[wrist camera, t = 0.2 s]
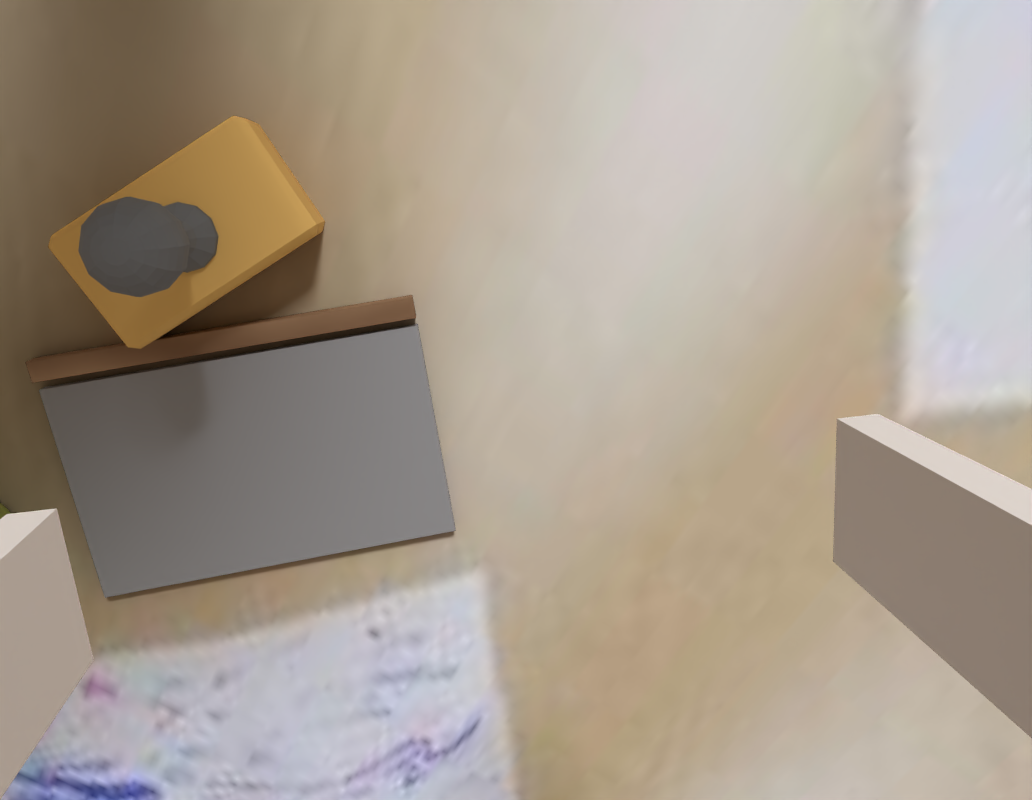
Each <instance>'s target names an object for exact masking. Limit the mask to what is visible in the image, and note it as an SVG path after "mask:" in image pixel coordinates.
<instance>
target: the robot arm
mask: <svg viewBox="0 0 1032 800" xmlns="http://www.w3.org/2000/svg"><path fill="white" fill-rule="evenodd" d="M833 562H834V563H836V564H837V565H838V566H839V567H840V568H841V569H842V570H843V571H845V572H846V573H847V574H848V575H849V576H850V577H851V578H852V579H854V580H855V581H856V582H857V583H858V584H859V585H860V586H861V587H863V588H864V589H865V590H866V591H867V592H868V593H869V594H870V595H871V596H873V597H874V598H875V599H876V600H877V601H878V602H879V603H880V604H882V605H883V606H884V607H885V608H886V609H887V610H888V611H889V612H891V613H892V614H893V615H894V616H895V617H896V618H897V619H898V620H900V621H901V622H902V623H903V624H904V625H905V626H906V627H907V628H909V629H910V630H911V631H912V632H913V633H914V634H915V635H916V636H918V637H919V638H920V639H921V640H922V641H923V642H924V643H925V644H927V645H928V646H929V647H930V648H931V649H932V650H933V651H934V652H936V653H937V654H938V655H939V656H940V657H941V658H942V659H943V660H944V661H946V662H947V663H948V664H949V665H950V666H951V667H952V668H953V669H955V670H956V671H957V672H958V673H959V674H960V675H961V676H962V677H964V678H965V679H966V680H967V681H968V682H969V683H970V684H971V685H973V686H974V687H975V688H976V689H977V690H978V691H979V692H980V693H982V694H983V695H984V696H985V697H986V698H987V699H988V700H989V701H991V702H992V703H993V704H994V705H995V706H996V707H997V708H998V709H1000V710H1001V711H1002V712H1003V713H1004V714H1005V715H1006V716H1007V717H1009V718H1010V719H1011V720H1012V721H1013V722H1014V723H1015V724H1016V725H1017V726H1019V727H1020V728H1021V729H1022V730H1023V731H1024V732H1025V733H1026V734H1028V735H1029V736H1030V737H1031V738H1032V489H1031V488H1028V487H1026V486H1024V485H1022V484H1020V483H1018V482H1016V481H1014V480H1012V479H1010V478H1008V477H1006V476H1004V475H1002V474H1000V473H998V472H996V471H994V470H992V469H990V468H988V467H986V466H983V465H981V464H979V463H977V462H975V461H973V460H971V459H969V458H967V457H965V456H963V455H961V454H959V453H957V452H955V451H953V450H951V449H949V448H947V447H945V446H943V445H941V444H939V443H936V442H934V441H932V440H930V439H928V438H926V437H924V436H922V435H920V434H918V433H916V432H914V431H912V430H910V429H908V428H906V427H904V426H902V425H900V424H898V423H896V422H894V421H891V420H889V419H887V418H885V417H883V416H881V415H879V414H873V415H865V416H856V417H847V418H839V419H837V435H836V471H835V508H834V544H833ZM93 660H94V659H93V654H92V650H91V646H90V642H89V638H88V634H87V630H86V626H85V622H84V618H83V613H82V609H81V605H80V601H79V597H78V593H77V589H76V585H75V581H74V577H73V572H72V568H71V564H70V560H69V556H68V552H67V548H66V544H65V540H64V536H63V531H62V527H61V523H60V519H59V515H58V511H57V508H56V509H47V510H39V511H30V512H21V513H12V514H6V515H5V516H4V517H2V518H1V519H0V799H1V798H2V796H3V795H4V793H5V792H6V790H7V789H8V787H9V786H10V784H11V783H12V781H13V780H14V778H15V777H16V775H17V774H18V772H19V771H20V769H21V768H22V766H23V765H24V763H25V762H26V760H27V759H28V757H29V756H30V754H31V753H32V751H33V750H34V748H35V747H36V745H37V744H38V742H39V741H40V739H41V738H42V736H43V735H44V733H45V732H46V730H47V729H48V727H49V726H50V724H51V723H52V721H53V720H54V718H55V717H56V715H57V714H58V712H59V711H60V710H61V708H62V707H63V705H64V704H65V702H66V701H67V699H68V698H69V696H70V695H71V693H72V692H73V690H74V689H75V687H76V686H77V684H78V683H79V681H80V680H81V678H82V677H83V675H84V674H85V672H86V671H87V669H88V668H89V666H90V665H91V663H92V662H93Z"/></svg>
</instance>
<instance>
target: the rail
mask: <svg viewBox="0 0 1032 800" xmlns="http://www.w3.org/2000/svg"><path fill="white" fill-rule="evenodd" d="M413 318H416V313H415V307H414V302H413V297H412V295H409V296H403V297H397V298H391V299H385V300H379V301H373V302H367V303H361V304H355V305H349V306H343V307H337V308H331V309H325V310H319V311H313V312H307V313H301V314H295V315H289V316H283V317H277V318H271V319H265V320H259V321H253V322H247V323H241V324H235V325H229V326H223V327H217V328H211V329H205V330H199V331H193V332H187V333H181V334H175V335H169V336H163V337H160V338H158V339H156V340H155V341H153V342H151V343H150V344H148V345H146V346H145V347H143V348H141V349H138V348H129V347H127V346H126V344H125V343H121V344H115V345H109V346H103V347H97V348H91V349H85V350H79V351H73V352H67V353H61V354H55V355H49V356H43V357H37V358H33V359H31V360H29V361H27V362H26V365H27V368H28V372H29V375H30V378H31V381H32V383H34V382H40V381H46V380H52V379H58V378H64V377H70V376H76V375H82V374H87V373H93V372H99V371H105V370H111V369H117V368H123V367H129V366H135V365H141V364H147V363H153V362H158V361H164V360H170V359H176V358H182V357H188V356H194V355H200V354H206V353H212V352H218V351H224V350H229V349H235V348H241V347H247V346H253V345H259V344H265V343H271V342H277V341H283V340H289V339H295V338H300V337H306V336H312V335H318V334H324V333H330V332H336V331H342V330H348V329H354V328H360V327H366V326H372V325H377V324H383V323H389V322H395V321H401V320H407V319H413Z"/></svg>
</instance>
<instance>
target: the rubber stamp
mask: <svg viewBox="0 0 1032 800" xmlns="http://www.w3.org/2000/svg"><path fill="white" fill-rule="evenodd" d="M324 223H325V221H324V219H323V218H322V216H321V215H320V213H319V212H318V210H317V209H316V207H315V206H314V205H313V203H312V202H311V200H310V199H309V197H308V196H307V194H306V193H305V191H304V190H303V188H302V187H301V185H300V184H299V183H298V181H297V180H296V178H295V177H294V175H293V174H292V172H291V171H290V169H289V168H288V166H287V165H286V163H285V162H284V160H283V159H282V158H281V156H280V155H279V153H278V152H277V150H276V149H275V147H274V146H273V144H272V143H271V141H270V140H269V138H268V137H267V135H266V134H265V133H264V131H263V130H262V128H261V127H260V125H259V124H257V123H255V122H252V121H250V120H248V119H245V118H241V117H237V116H232V117H230V118H228V119H227V120H225V121H224V122H222V123H221V124H219V125H218V126H216V127H215V128H213V129H212V130H210V131H209V132H207V133H206V134H204V135H203V136H201V137H200V138H198V139H196V140H195V141H193V142H192V143H190V144H189V145H187V146H186V147H184V148H183V149H181V150H180V151H178V152H177V153H175V154H174V155H172V156H171V157H169V158H168V159H166V160H165V161H163V162H162V163H160V164H159V165H157V166H156V167H154V168H153V169H151V170H150V171H148V172H146V173H145V174H143V175H142V176H140V177H139V178H137V179H136V180H134V181H133V182H131V183H130V184H128V185H127V186H125V187H124V188H122V189H121V190H119V191H118V192H116V193H115V194H113V195H112V196H110V197H109V198H107V199H106V200H104V201H103V202H101V203H100V204H98V205H97V206H95V207H93V208H92V209H90V210H89V211H87V212H86V213H84V214H83V215H81V216H80V217H78V218H77V219H75V220H74V221H72V222H71V223H69V224H68V225H66V226H65V227H63V228H62V229H60V230H59V231H57V232H56V233H54V234H53V235H52V236H51V238H50V242H49V245H48V248H49V249H50V250H51V251H52V253H53V254H54V255H55V256H56V258H57V259H58V260H59V261H60V263H61V264H62V265H63V267H64V268H65V269H66V270H67V272H68V273H69V274H70V275H71V277H72V278H73V279H74V280H75V282H76V283H77V284H78V285H79V287H80V288H81V289H82V290H83V292H84V293H85V294H86V295H87V297H88V298H89V299H90V300H91V302H92V303H93V304H94V305H95V307H96V308H97V309H98V310H99V312H100V313H101V314H102V315H103V317H104V318H105V319H106V320H107V322H108V323H109V324H110V326H111V327H112V328H113V329H114V331H115V332H116V333H117V334H118V336H119V337H120V338H121V339H122V341H123V342H124V343H125V344H126V346H127V347H129V348H138V349H141V348H143V347H145V346H146V345H148V344H150V343H151V342H153V341H155V340H156V339H158V338H160V337H161V336H163V335H165V334H166V333H168V332H169V331H171V330H172V329H174V328H175V327H177V326H178V325H180V324H181V323H183V322H184V321H186V320H188V319H189V318H191V317H192V316H194V315H195V314H197V313H198V312H200V311H201V310H203V309H204V308H206V307H207V306H209V305H211V304H212V303H214V302H215V301H217V300H218V299H220V298H221V297H223V296H224V295H226V294H227V293H229V292H230V291H232V290H234V289H235V288H237V287H238V286H240V285H241V284H243V283H244V282H246V281H247V280H249V279H250V278H252V277H253V276H255V275H257V274H258V273H260V272H261V271H263V270H264V269H266V268H267V267H269V266H270V265H272V264H273V263H275V262H276V261H278V260H280V259H281V258H283V257H284V256H286V255H287V254H289V253H290V252H292V251H293V250H295V249H296V248H298V247H299V246H301V245H303V244H304V243H306V242H307V241H309V240H310V239H312V238H313V237H315V236H316V235H318V234H319V233H321V232H322V231H323V228H324Z"/></svg>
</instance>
